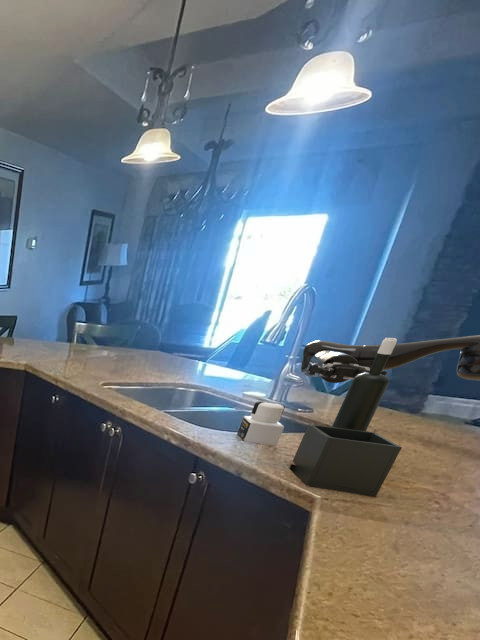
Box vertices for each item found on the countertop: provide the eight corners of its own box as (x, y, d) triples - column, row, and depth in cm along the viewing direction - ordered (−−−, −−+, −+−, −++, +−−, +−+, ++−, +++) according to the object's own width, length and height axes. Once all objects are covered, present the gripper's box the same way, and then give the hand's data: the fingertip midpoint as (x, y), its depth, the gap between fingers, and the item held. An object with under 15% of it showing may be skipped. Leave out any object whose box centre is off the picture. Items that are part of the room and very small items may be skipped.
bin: (351, 478, 111) (374, 432, 107) (375, 497, 101) (402, 447, 97) (289, 468, 115) (308, 424, 111) (306, 485, 106) (328, 437, 101)
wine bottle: (328, 460, 122) (386, 336, 110) (354, 468, 117) (417, 340, 105) (309, 460, 121) (365, 336, 109) (334, 469, 116) (396, 339, 104)
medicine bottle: (234, 440, 134) (250, 397, 130) (266, 445, 132) (283, 401, 127) (240, 447, 129) (257, 403, 124) (274, 452, 126) (292, 407, 121)
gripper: (306, 349, 135) (322, 357, 122) (376, 355, 129) (400, 364, 116) (295, 376, 138) (309, 386, 125) (362, 384, 132) (385, 395, 119)
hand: (353, 376), depth 120 cm, fingers open, 8 cm apart
